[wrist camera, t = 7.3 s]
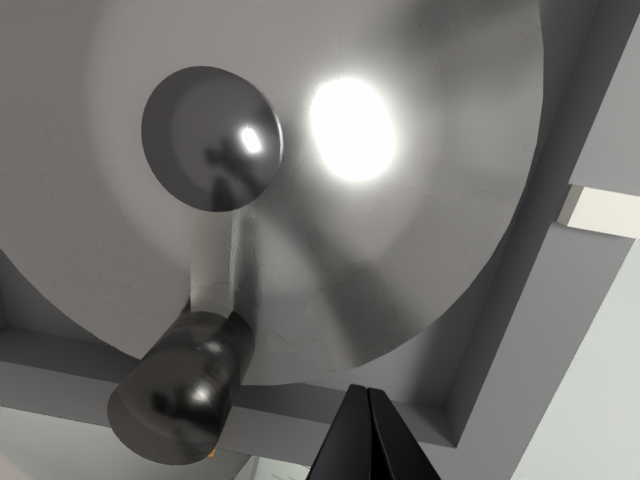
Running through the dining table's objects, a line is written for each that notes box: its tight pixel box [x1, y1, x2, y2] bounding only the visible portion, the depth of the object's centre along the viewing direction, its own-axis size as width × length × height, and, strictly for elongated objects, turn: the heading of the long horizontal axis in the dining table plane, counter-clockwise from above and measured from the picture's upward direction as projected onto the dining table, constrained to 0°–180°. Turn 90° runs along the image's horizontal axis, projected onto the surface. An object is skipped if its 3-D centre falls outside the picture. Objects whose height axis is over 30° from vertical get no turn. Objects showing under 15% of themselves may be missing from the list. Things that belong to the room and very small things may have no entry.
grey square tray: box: [0, 0, 640, 480], centre depth 9 cm, size 20×20×3 cm
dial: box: [0, 0, 544, 465], centre depth 7 cm, size 14×14×4 cm
